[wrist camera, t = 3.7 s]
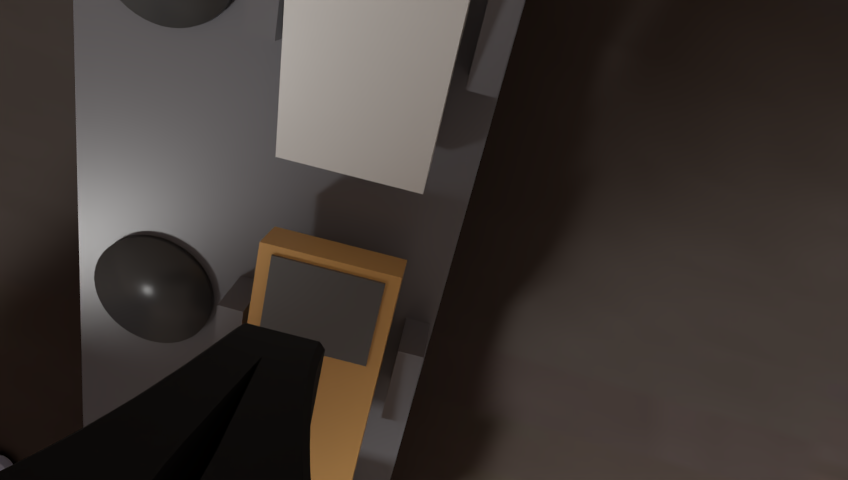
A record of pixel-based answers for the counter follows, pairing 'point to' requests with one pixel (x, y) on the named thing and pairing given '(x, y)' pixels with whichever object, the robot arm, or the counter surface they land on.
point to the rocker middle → (330, 330)
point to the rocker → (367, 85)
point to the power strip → (243, 192)
